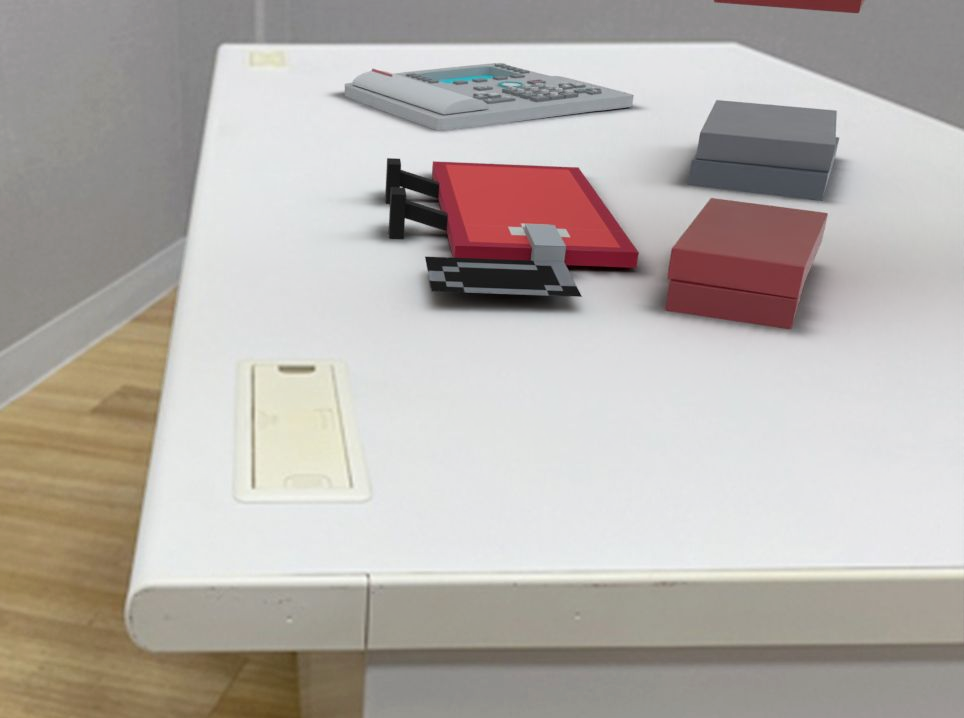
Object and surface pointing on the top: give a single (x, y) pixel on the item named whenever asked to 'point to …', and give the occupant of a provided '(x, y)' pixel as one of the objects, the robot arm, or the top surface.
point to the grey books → (766, 149)
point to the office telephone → (480, 95)
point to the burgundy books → (744, 262)
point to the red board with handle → (509, 226)
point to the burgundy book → (804, 4)
